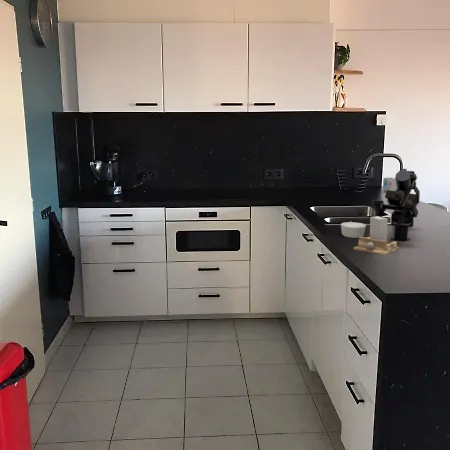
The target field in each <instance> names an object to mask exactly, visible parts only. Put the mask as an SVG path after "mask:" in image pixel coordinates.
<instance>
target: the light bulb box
mask: <svg viewBox="0 0 450 450" xmlns="http://www.w3.org/2000/svg"><path fill="white" fill-rule="evenodd" d="M396 189H397V185H396V180H395V177H383V183H382V193H384V192H385V194H386V191H387V190H391V191H396Z"/></svg>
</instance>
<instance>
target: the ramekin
mask: <svg viewBox="0 0 450 450" xmlns="http://www.w3.org/2000/svg"><path fill="white" fill-rule="evenodd" d="M340 228H341V235H342V236H343V237H345V238H351V239H359V237H364V236H365V232H366V228H367V225H366V223H361V222H354V221H352V222H351V221H348V222H347V221H346V222H342V223H340Z"/></svg>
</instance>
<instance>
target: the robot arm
mask: <svg viewBox="0 0 450 450" xmlns="http://www.w3.org/2000/svg"><path fill="white" fill-rule="evenodd" d="M394 176H395V177H394V178H395V180H396V185H397V189H396V191H391V190H387V191H386V193H385V194H384V198H385V199H386V200H387V203H385V202H384V200H380V199H373V200H372V203H371V206H372V207H373V209H374V211H375V212H376V216H379V217H383V216H384V215H385V212H386V210H392V212H391V216H390V226H394V228H393V229H394V231H393V232H394V233H393V236H392V237H391V238H390V240H394V241H401V242H406V241H409V240H411V237H408V236H409V235H408V234H409V228H413V227H414V222H415V219H416V218H417V217H418V214H419V210H418V208H417V206H418V205H420V200H421V199H420V197H421V196H420V195H421V194H420V193H421V192H420V191H421V190H419V188H418V187H417V182H416V181H417V179H418V176H417V173H415V171H413V170H407V168H401V170H399V171H398V172H397V173H396V174H395V175H394ZM412 190H413V191H414V193H411V192H412ZM376 216H375V217H376ZM414 218H415V219H414Z"/></svg>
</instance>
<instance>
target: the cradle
mask: <svg viewBox="0 0 450 450" xmlns="http://www.w3.org/2000/svg"><path fill="white" fill-rule="evenodd" d="M397 245H398V242H397V241H396V240H394V241H392V242H389V243H388V240H387V241H383V240H377V239H372V238H370V236H367V237H365V236H363V237H359V238H358V245H357V246H354V247H353V250H354V251H360V252H365V253H370V254H374V255H376V254H377V255H381V256H385V255H387V254H388V255H389V254H390V253H392V252H394V251H395V252H396V251H397V250H399V249H400V246H397Z"/></svg>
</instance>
